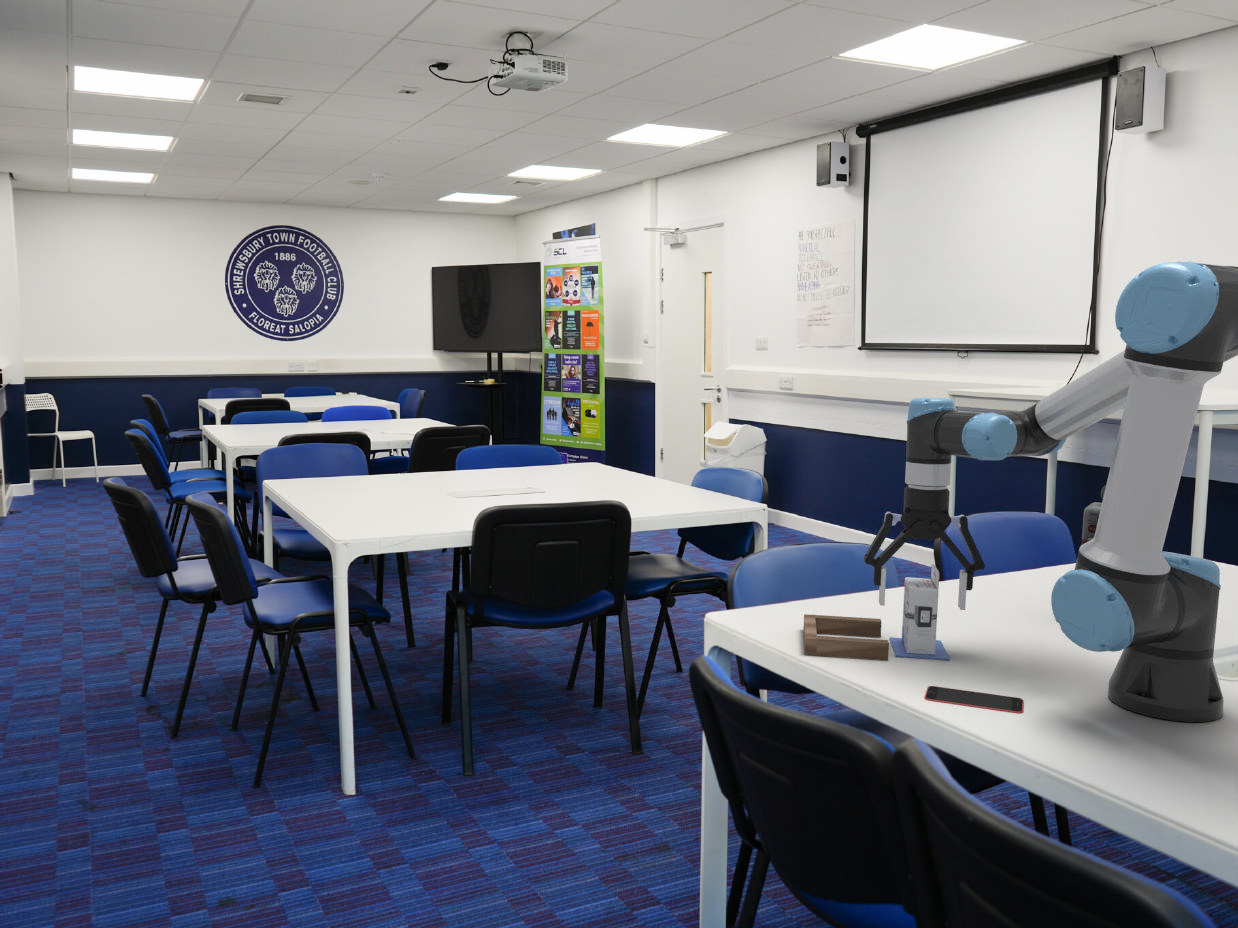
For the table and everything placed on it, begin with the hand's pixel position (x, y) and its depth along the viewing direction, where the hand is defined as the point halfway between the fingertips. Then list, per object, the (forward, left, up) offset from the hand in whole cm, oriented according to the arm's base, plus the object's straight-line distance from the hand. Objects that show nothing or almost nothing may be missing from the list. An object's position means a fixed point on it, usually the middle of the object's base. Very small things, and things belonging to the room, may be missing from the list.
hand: (921, 606), depth 172 cm
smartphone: (-25, -5, -8) cm, 27 cm away
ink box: (0, 0, -8) cm, 8 cm away
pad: (0, 0, -8) cm, 8 cm away
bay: (0, +13, -8) cm, 15 cm away
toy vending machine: (+25, -38, -8) cm, 46 cm away
